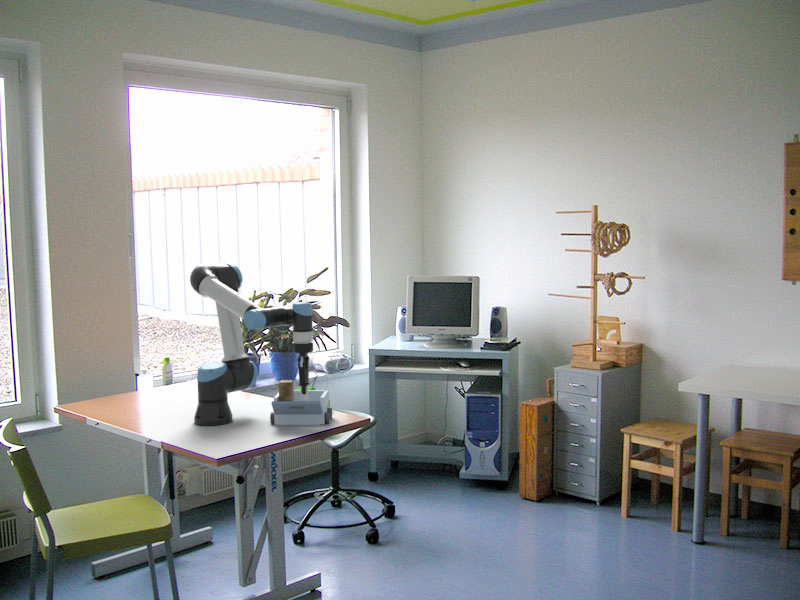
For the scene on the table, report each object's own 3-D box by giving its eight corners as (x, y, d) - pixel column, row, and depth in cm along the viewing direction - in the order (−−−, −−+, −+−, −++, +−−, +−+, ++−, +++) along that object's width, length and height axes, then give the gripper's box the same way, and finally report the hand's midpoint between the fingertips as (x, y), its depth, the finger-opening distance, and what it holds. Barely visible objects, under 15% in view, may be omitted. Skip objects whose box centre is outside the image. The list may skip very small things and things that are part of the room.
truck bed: (270, 424, 306) (269, 397, 305) (277, 416, 320) (276, 390, 319) (328, 424, 305) (328, 397, 304) (332, 416, 319) (332, 390, 319)
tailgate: (274, 415, 304) (271, 404, 297) (275, 411, 305) (271, 401, 298) (322, 415, 303) (320, 404, 297) (322, 411, 304) (320, 401, 298)
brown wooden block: (279, 412, 306) (278, 382, 305) (281, 409, 311) (281, 380, 310) (291, 412, 306) (291, 382, 305) (293, 409, 311) (293, 380, 310)
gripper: (310, 344, 291) (311, 405, 293) (315, 339, 304) (316, 398, 306) (290, 344, 291) (292, 405, 293) (296, 339, 304) (297, 398, 306)
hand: (304, 401), depth 300 cm, fingers closed
